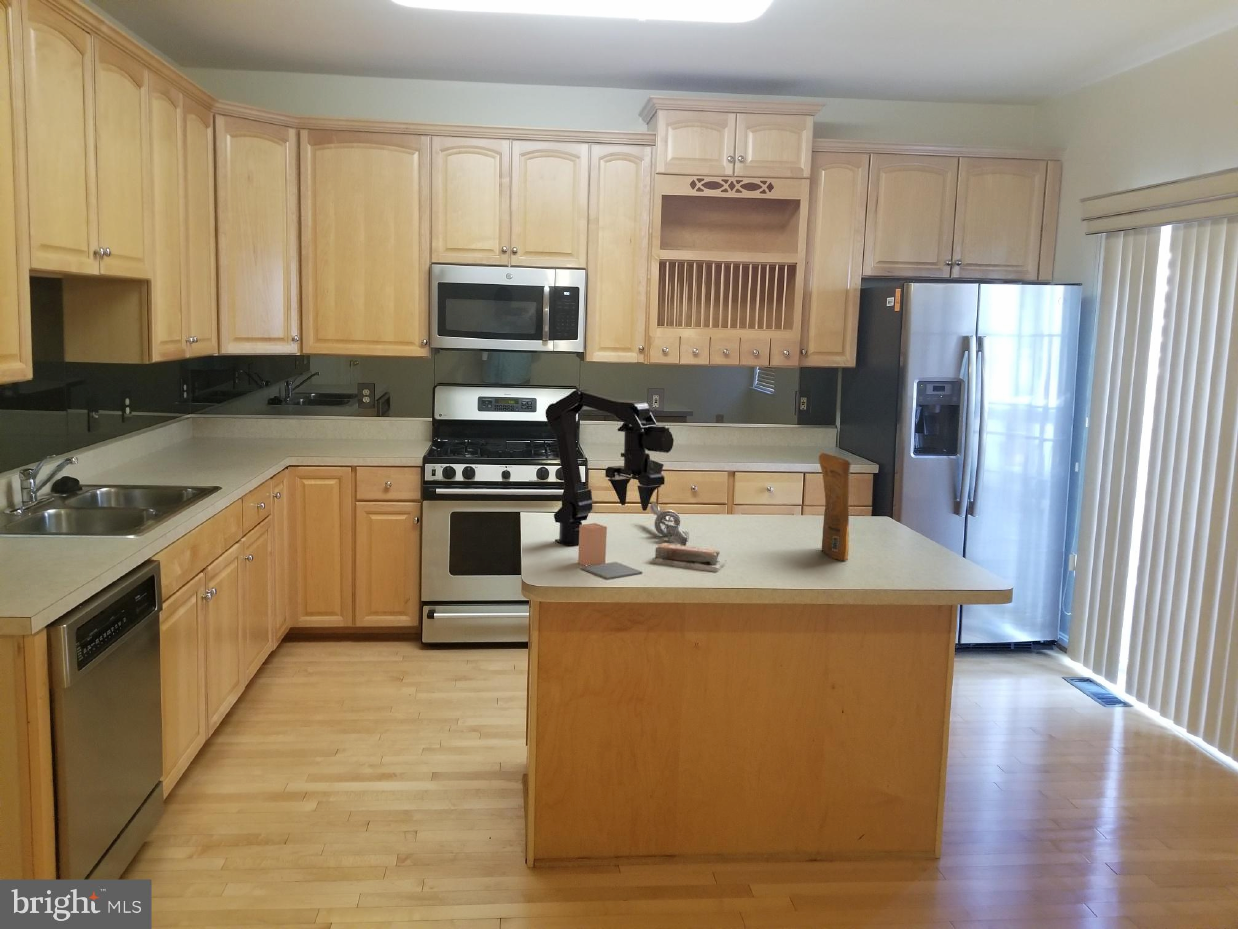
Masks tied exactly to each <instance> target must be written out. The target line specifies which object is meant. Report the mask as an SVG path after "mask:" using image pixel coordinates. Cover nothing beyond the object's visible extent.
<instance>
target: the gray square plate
mask: <svg viewBox="0 0 1238 929" xmlns="http://www.w3.org/2000/svg"><path fill="white" fill-rule="evenodd" d="M580 569H581V570H583V571H585V572H589V573H590V574H592V575H595V576H598V577H600V578H603V579H606V580H612V579H619V578H624V577H631V576H637V575H642V574H643V571H642V570H639V569H636V568H633V567H631V566H629V565H626V564H623V563H620V562H617V561H612V562H605V563H604V564H598V565H591V566H585V565H584V566H581V567H580Z"/></svg>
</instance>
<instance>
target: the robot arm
mask: <svg viewBox="0 0 1238 929" xmlns="http://www.w3.org/2000/svg"><path fill="white" fill-rule="evenodd" d="M584 407H587V408H590V409H593V410H596V411H601V412H603V413H606V414H610V415H612V416H614V417H615V418H616V419H617V420H618V421H620V422H622V424H621V426H620V427H618V428H617V432H621V433H624V443H623V447H624V448H623V451H624V452H620V457H621V458H623V465H612V466H607V467H606V469H605V475H604V477H605V478H608V479H607V480H608V482H610V484H611V486H612V489H613V490H614V492H615V493H616V496H617V499H618V501H619V503H620V505H621V506H625V505H626V502H627V492H628V485H629V483H630V482H631V480H635V481H636V480H637V481H638V484H639V485H637V490H638V495H639V500H640V506H641V510H642V511H643V512H645V511H647V510H648V507H649V504H650V502H651V499H652V497H653V495H654V493H655V491H656V490H657V489H658V488H661V487H662V486H663V485H664V486H665V482H666V480H665V475H664V474H663V473H662V471H663V469H664V465H665V464H663V463H661V462H659V461H655V460H653V459H651V455H650V453H647V452H646V451H648V452H656V453H664V454H665V453H666V454H667V453H670V452H671V451H672V450H673V447H674V441H675V440H674V437H673V436H674V435H673V434H672V432H671V431H670V426H669V425H668V426H667V425H663V426H661V425H660V426H659V424H658V423H657V421H656V419H655V417H654V416H653V413H652V412H651V408H650V407H649V404H648V403H647V402H646V401H642V400H641V401H640V400H622V399H618V398H615V397H611V396H608V395H604V394H600V393H597V392H594V391H590V390H588V389H587V388H585V389H584V388H582V389H574V390H573V391H571V392H570V393H569V394H567V395H566V396H564V397H562V398H561V399H559V400H556V402H553V403H550V404H549V405H548V406H547V408H546V409H545V419H546V421H547V424H548V427H549V429H550V430H551V431H552V433H553V434H554V435H555V438H556V444H557V445H556V446H557V451H558V456H559V461H560V467H561V474H562V478H563V485H564V488H563V492H562V495H561V506H560V508H559V509H558V510H556V512H555V513H553V518H554V522H555V523H558V524H559V533H558V534H559V536H558V537H559V538H556V539H554V542H555V543H559V544H560V545H564V546H566V547H567V546H568V547H569V546H579V528H580V525H583V521H587V520H588V517H589V515H590V513H591V512H592V510H593V504H594V503H595V502H594V500H593V496H592V492H593V491H592V489H591V488H587V489H586V487H585V486H584V484H583V480H582V475H581V468H580V464H579V463H580V462H579V459H578V452H577V446H576V441H575V433H574V432H575V429H576V426H577V422H578V421H577V415H578V414H579V413H580V412H582V411H583V409H584Z"/></svg>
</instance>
